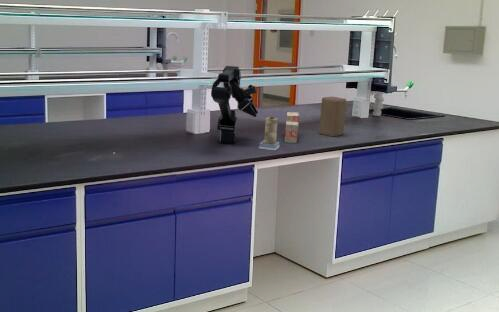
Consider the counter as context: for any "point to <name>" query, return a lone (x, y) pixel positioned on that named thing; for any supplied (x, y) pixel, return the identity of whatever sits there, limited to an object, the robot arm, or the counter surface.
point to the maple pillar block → (270, 130)
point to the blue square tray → (269, 146)
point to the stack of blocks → (291, 127)
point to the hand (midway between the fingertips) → (256, 114)
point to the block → (332, 116)
